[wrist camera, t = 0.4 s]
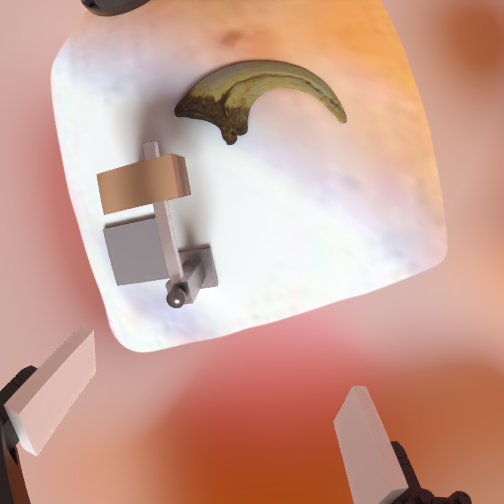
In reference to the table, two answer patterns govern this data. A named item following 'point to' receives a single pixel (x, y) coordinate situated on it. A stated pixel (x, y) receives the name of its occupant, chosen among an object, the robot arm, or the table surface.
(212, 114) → the claw
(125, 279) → the mat
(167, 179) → the tan brick
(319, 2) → the table surface
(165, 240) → the grey lever handle
